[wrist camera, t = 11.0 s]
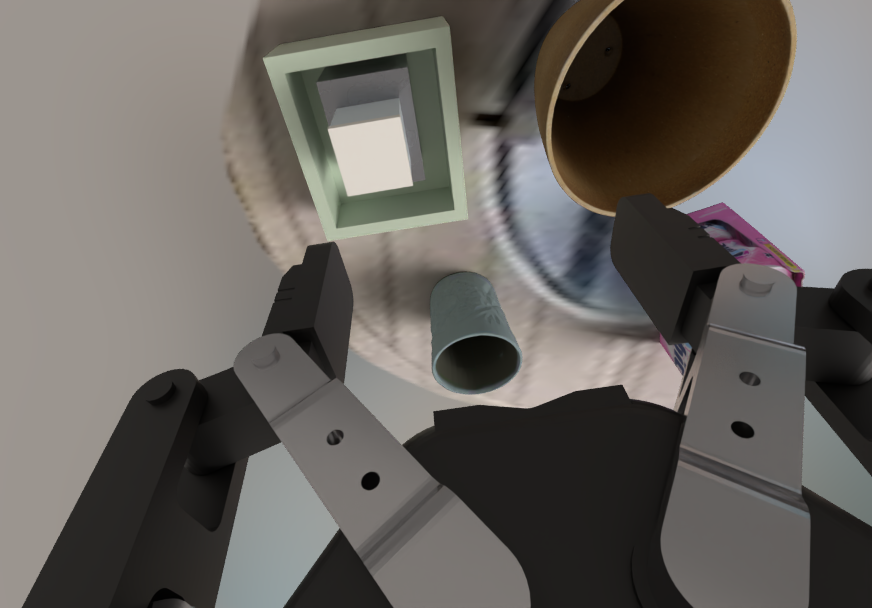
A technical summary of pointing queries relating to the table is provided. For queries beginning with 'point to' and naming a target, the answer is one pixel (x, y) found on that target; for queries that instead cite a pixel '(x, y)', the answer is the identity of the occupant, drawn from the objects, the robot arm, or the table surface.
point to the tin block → (374, 94)
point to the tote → (436, 119)
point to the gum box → (743, 247)
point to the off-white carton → (371, 147)
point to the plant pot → (658, 93)
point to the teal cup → (471, 336)
